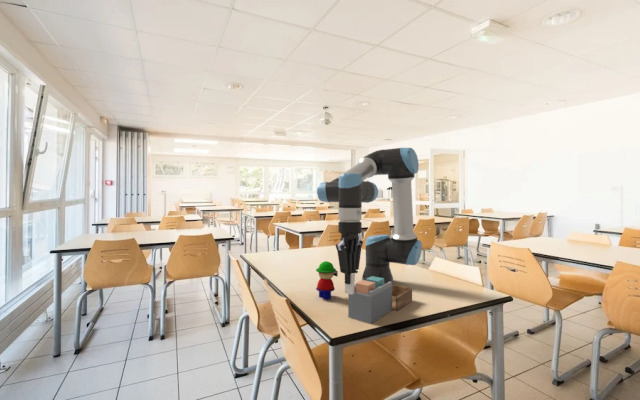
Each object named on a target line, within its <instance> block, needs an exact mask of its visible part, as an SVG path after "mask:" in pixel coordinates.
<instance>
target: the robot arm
mask: <svg viewBox="0 0 640 400" xmlns="http://www.w3.org/2000/svg"><path fill="white" fill-rule="evenodd" d="M418 172H419V159H418V155H417V152H416V151H415V149H414V148H412V147H403V146H402V147H398V148H397V147H396V148H387V149H378V150H375V151H373V152H371V153H368V154H366V155H365V156H363V157H362V158H360V159H359V160H358V162H357V163H356V164H355V165H353V166H352V167H351V168H349V169H348V170H346V171H345V172H344V173H341V174H340V175H339V176H337V177H336V178H335V179H332V181H325V182H320V183H319V184H318V185H317V188H316V195H317V198H318V200H319V202H324V203H338V208H337V209H338V211H337V213H338V214H337V215H338V216H337V218H338V219H337V220H339V221H338V223H337V224H338V226H337V227H338V228H337V229H338V230H337V231H338V233H340V235H341V236H340V242H339V243H336V244H335V248H336V251H337V257H338V264H339V271H340V272H339V273H342V274H344V294H351V295H352V294H354V285H355V276H356V274H358V270H359V269H360V262H361V261H360V260H361V254H362V246H363V244H364V241H363V240H360V237H359V236H360V235H359V234H361V233H362V230H363V229H362V227H363V225H362V221H361V220H362V214H363V212H362V206H363V205H362V203H366V204H367V203H368V204H369V203H372V202H374V201H375V200H376V199H377V198H378V196H379V189H378V186H377V185H376V184H375V182H371V181H369V180H367V179H368V178H372V177H374V176H382V175H383V176H386V175H387V179H388V180H389V181H390V183H391V189H392V191H391V192H392V193H391V195H392V207H393V208H392V211H393V227H394V228H393V229H394V231H393V233H392V235H391V236H390V235H389V234H376V235H369V236H367V237H366V239H365V267H364V270H363V273H362V277H361V278H362V279H361V281H362V280H366V279H367V278H369V277H371V276H374V277H380V278H384V283H387V282H389V281H390V282H392V285H394V277H393V273H392V270H391V267H390V264H391V263H393V264H399V265H405V266H416V265H417V264H418V263H419V261H420V259H421V255H422V250H423V243H422V241H421V240H419V239H418V235H417V234H416V233H415V232H414V216H413V215H414V214H413V212H414V210H413V197H412V196H413V193H412V192H413V191H412V190H413V189H412V181H413V179H414V178H415V175H416V174H417V173H418ZM366 180H367V181H366Z"/></svg>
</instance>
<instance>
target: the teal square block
mask: <svg viewBox="0 0 640 400" xmlns="http://www.w3.org/2000/svg"><path fill="white" fill-rule="evenodd" d="M366 281H370V282H375V288H377V287H379V286H381V285H383V284H384V278H380V277H374V276H371V277H369V278H367V279H366Z"/></svg>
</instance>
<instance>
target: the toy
mask: <svg viewBox="0 0 640 400" xmlns="http://www.w3.org/2000/svg"><path fill="white" fill-rule="evenodd" d="M315 271H316V272H317V273H318V276H319V280H318V282H317V285H316V288H315V290H316V291H317V292H318V297H319V298H322V299H324V300H327V301H328V300H332V299H331V298H332V292H333V291H335V289H336V288H335V286H334V285H335V284H334V282H333V280H332V279H333V277H338V270H337V269H336V268H335V267H334V265H333V263H332V262H331V261H327V260H326V261H323V262H320V264H319V266H318V268H316V269H315Z"/></svg>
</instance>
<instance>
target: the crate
mask: <svg viewBox="0 0 640 400" xmlns="http://www.w3.org/2000/svg"><path fill="white" fill-rule="evenodd" d="M384 284H385V283H384ZM412 301H413V288H410V287H406V286H400V285H396V284H392V310H391V311H396V312H398V311H400V310H401V309H402V308H404V307H405V306H407V305H409V304H410V303H411V302H412Z"/></svg>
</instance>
